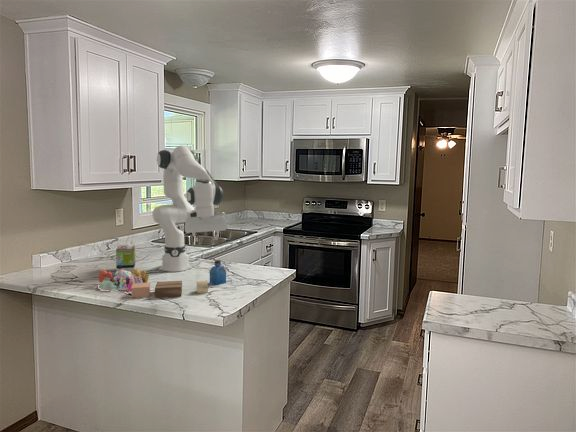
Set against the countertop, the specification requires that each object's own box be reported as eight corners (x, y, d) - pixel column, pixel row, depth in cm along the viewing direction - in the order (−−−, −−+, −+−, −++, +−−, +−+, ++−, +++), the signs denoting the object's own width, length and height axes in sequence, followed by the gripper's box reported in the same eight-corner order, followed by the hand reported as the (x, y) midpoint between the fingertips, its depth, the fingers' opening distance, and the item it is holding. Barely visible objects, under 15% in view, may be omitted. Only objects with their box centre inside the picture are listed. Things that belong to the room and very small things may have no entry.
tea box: (134, 273, 256) (133, 248, 254) (116, 274, 253) (115, 249, 252) (136, 267, 270) (135, 243, 269) (118, 268, 268) (117, 244, 266)
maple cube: (197, 290, 223) (196, 280, 222) (207, 290, 224) (207, 280, 223) (197, 293, 218) (197, 283, 217) (207, 292, 219) (207, 283, 218)
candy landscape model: (137, 278, 247) (136, 261, 246) (157, 286, 230) (156, 269, 229) (90, 286, 230) (89, 269, 229) (108, 296, 213) (107, 277, 212)
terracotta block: (133, 293, 218) (132, 283, 217) (150, 292, 220) (150, 282, 219) (131, 298, 210) (131, 288, 209) (149, 297, 212) (149, 286, 211)
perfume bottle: (209, 282, 237) (209, 260, 236) (219, 280, 242) (219, 258, 240) (216, 285, 233) (216, 262, 232) (226, 282, 237) (225, 260, 236)
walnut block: (157, 291, 222) (157, 281, 221) (182, 290, 224) (181, 280, 223) (155, 298, 210) (154, 288, 209) (181, 297, 212) (181, 287, 212)
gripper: (225, 211, 224) (226, 238, 225) (183, 213, 218) (185, 241, 219) (227, 211, 218) (228, 239, 219) (184, 214, 212) (186, 243, 213)
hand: (206, 240), depth 219 cm, fingers open, 8 cm apart
